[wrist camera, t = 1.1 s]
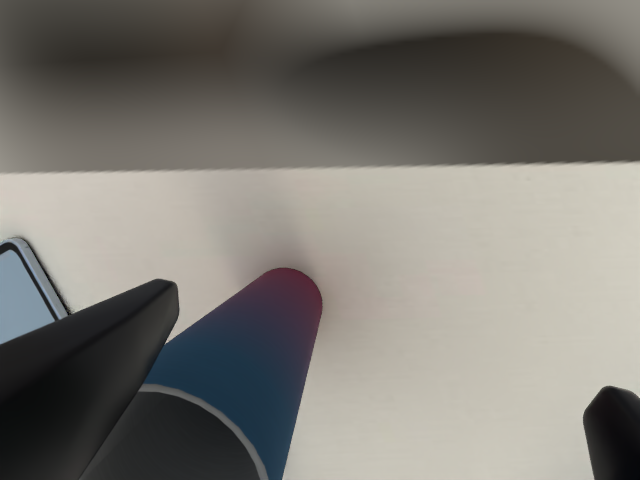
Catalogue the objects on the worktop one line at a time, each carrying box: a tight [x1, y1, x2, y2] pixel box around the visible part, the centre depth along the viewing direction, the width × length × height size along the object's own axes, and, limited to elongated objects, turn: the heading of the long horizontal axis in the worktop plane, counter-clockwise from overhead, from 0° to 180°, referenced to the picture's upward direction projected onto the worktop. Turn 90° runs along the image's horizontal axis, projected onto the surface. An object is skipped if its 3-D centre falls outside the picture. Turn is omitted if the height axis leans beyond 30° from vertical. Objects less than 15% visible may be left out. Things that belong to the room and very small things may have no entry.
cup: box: [79, 268, 322, 480], centre depth 19 cm, size 7×7×15 cm
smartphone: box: [0, 238, 68, 344], centre depth 29 cm, size 7×1×15 cm
